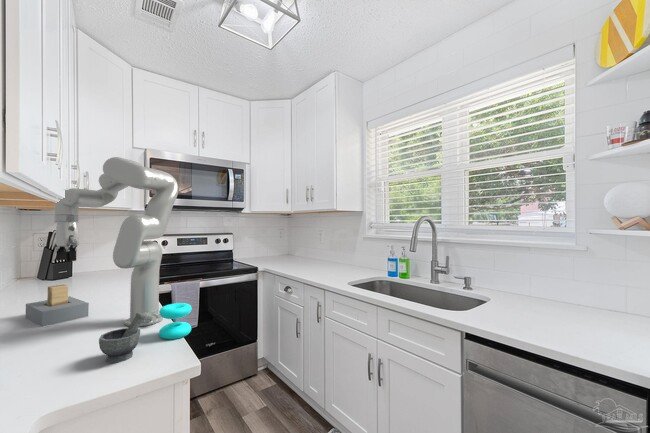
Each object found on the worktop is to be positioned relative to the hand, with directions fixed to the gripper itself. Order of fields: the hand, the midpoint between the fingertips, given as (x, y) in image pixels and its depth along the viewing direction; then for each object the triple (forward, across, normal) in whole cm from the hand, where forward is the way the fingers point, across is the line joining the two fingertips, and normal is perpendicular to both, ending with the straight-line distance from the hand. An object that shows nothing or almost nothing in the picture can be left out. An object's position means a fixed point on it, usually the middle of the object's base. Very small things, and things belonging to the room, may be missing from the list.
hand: (66, 260), depth 121 cm
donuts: (+24, -58, -11) cm, 64 cm away
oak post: (+22, +1, +2) cm, 23 cm away
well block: (+23, +1, +2) cm, 23 cm away
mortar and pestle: (+24, -61, +6) cm, 66 cm away
